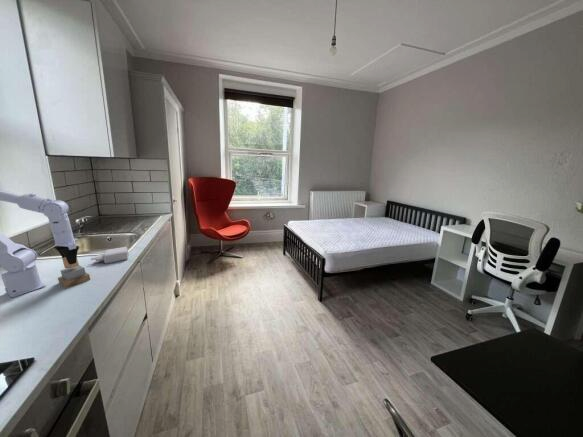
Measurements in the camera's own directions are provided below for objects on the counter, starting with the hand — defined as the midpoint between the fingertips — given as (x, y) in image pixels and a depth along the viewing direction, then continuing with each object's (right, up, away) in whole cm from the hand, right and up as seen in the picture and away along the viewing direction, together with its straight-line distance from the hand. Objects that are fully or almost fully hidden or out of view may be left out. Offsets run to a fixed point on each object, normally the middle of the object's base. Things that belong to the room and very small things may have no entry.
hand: (70, 262), depth 100 cm
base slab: (0, -9, +2) cm, 9 cm away
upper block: (0, -6, +2) cm, 6 cm away
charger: (-1, -3, +23) cm, 23 cm away
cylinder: (0, -2, 0) cm, 2 cm away
